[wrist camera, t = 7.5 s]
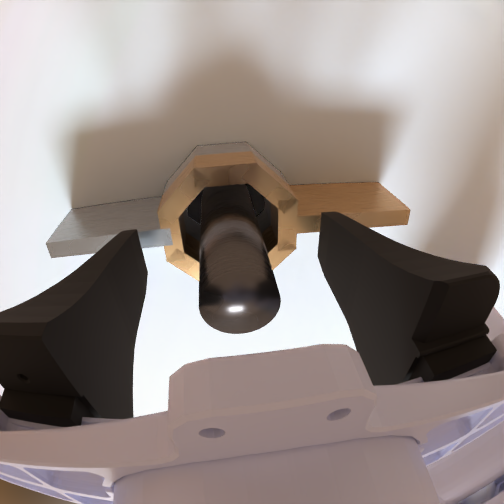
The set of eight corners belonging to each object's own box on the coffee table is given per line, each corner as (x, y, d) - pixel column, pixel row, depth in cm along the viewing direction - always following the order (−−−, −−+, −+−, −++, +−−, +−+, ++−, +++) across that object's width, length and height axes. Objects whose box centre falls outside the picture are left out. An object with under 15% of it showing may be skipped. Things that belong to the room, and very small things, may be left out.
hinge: (382, 140, 15) (418, 160, 12) (370, 232, 18) (397, 265, 15) (60, 167, 14) (29, 194, 11) (87, 259, 17) (68, 298, 14)
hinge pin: (248, 173, 15) (281, 268, 9) (249, 216, 17) (279, 328, 10) (199, 177, 15) (193, 277, 8) (204, 220, 16) (204, 336, 10)
